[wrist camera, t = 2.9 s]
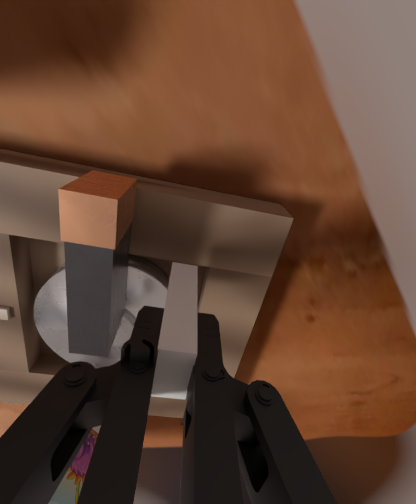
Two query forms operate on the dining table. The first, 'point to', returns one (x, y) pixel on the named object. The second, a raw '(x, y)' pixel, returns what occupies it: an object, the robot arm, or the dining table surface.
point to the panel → (141, 244)
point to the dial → (97, 273)
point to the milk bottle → (76, 473)
